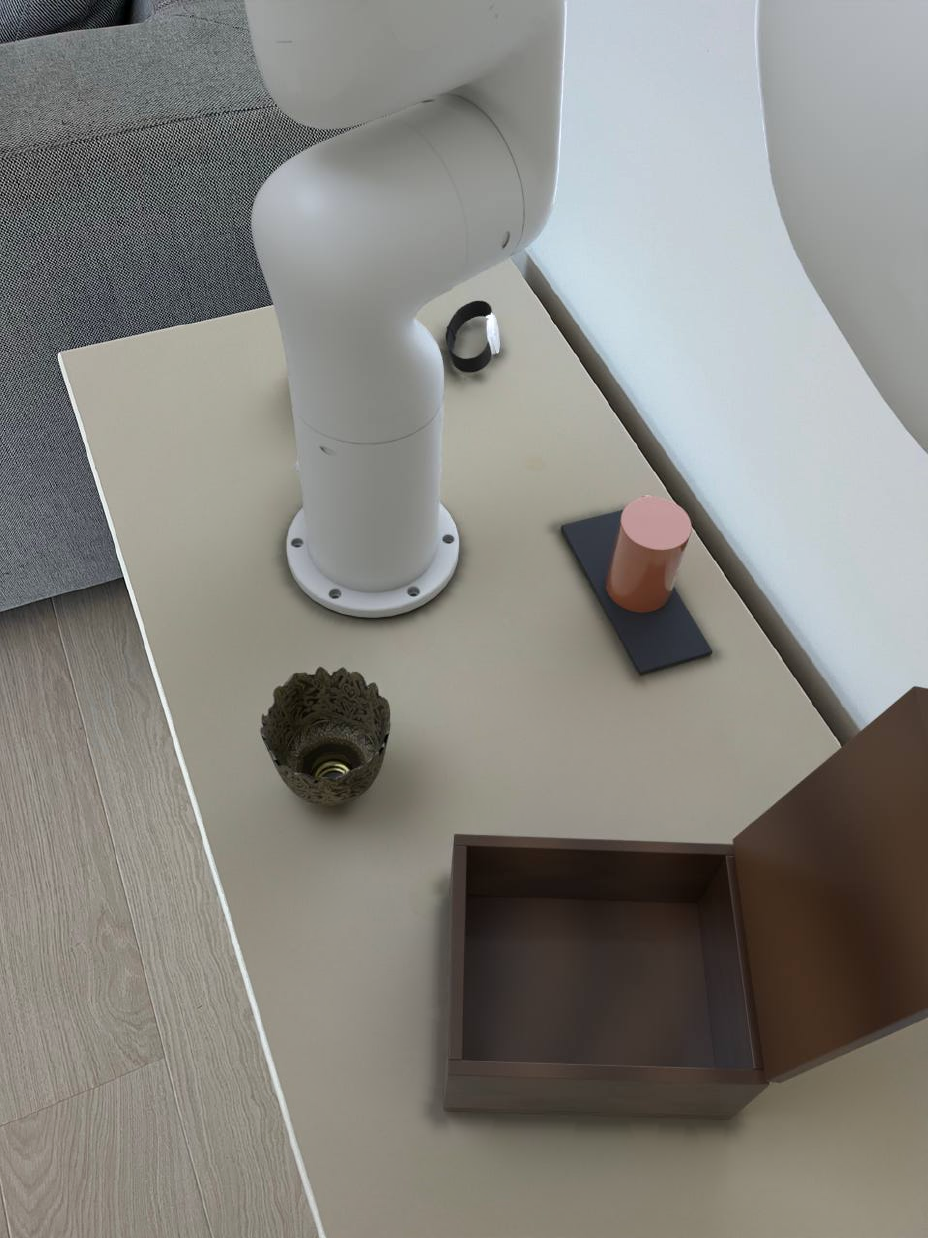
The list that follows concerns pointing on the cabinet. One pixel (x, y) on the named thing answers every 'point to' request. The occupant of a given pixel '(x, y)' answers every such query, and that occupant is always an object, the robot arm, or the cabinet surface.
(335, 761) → the cup
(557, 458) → the cabinet surface
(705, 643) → the mat
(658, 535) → the glossy terracotta cylinder
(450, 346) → the watch
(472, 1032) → the chest
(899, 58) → the robot arm
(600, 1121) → the cabinet surface
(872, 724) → the lid
